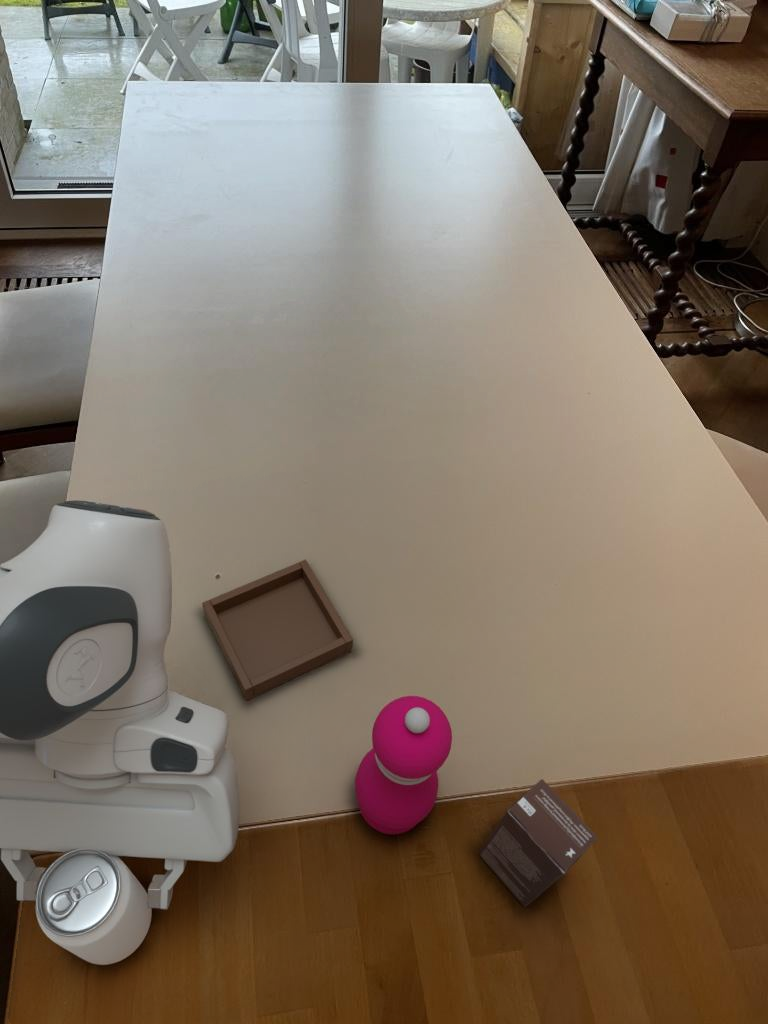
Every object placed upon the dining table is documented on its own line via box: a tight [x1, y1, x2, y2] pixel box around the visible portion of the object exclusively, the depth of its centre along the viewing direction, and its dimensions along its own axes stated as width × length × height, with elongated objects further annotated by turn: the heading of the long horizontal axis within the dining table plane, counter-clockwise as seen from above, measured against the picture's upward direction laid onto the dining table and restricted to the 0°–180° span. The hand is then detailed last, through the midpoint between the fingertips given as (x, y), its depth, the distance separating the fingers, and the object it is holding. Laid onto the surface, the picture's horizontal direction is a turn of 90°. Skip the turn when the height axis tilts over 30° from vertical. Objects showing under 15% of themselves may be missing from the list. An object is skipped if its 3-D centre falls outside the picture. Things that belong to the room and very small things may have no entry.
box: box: [477, 778, 598, 908], centre depth 64 cm, size 6×4×12 cm
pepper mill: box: [354, 695, 453, 835], centre depth 63 cm, size 7×7×20 cm
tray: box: [201, 559, 354, 701], centre depth 79 cm, size 12×11×2 cm
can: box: [35, 849, 152, 966], centre depth 59 cm, size 6×6×12 cm
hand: (95, 900), depth 58 cm, fingers open, 8 cm apart
